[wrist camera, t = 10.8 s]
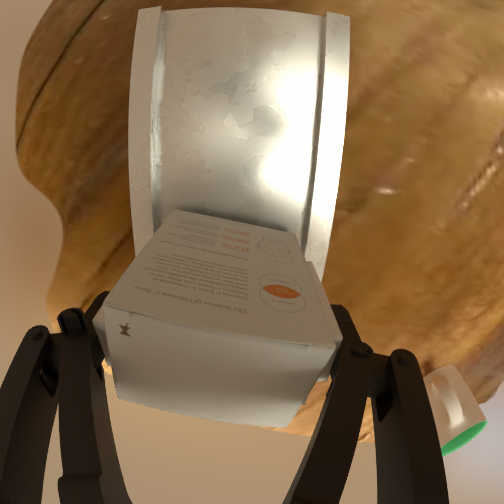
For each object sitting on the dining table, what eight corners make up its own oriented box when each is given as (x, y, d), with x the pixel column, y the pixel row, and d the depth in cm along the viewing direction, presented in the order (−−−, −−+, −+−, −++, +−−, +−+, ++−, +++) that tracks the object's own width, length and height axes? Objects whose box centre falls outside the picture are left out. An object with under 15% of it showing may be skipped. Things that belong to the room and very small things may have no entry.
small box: (166, 280, 20) (112, 399, 10) (174, 205, 17) (94, 301, 8) (275, 302, 20) (288, 432, 11) (298, 232, 18) (340, 350, 9)
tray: (150, 20, 14) (117, -10, 8) (338, 27, 14) (371, -3, 9) (161, 347, 26) (146, 395, 20) (296, 354, 26) (304, 404, 21)
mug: (396, 377, 29) (425, 445, 19) (450, 340, 27) (490, 402, 17) (415, 408, 33) (436, 461, 24) (458, 379, 31) (486, 429, 21)
